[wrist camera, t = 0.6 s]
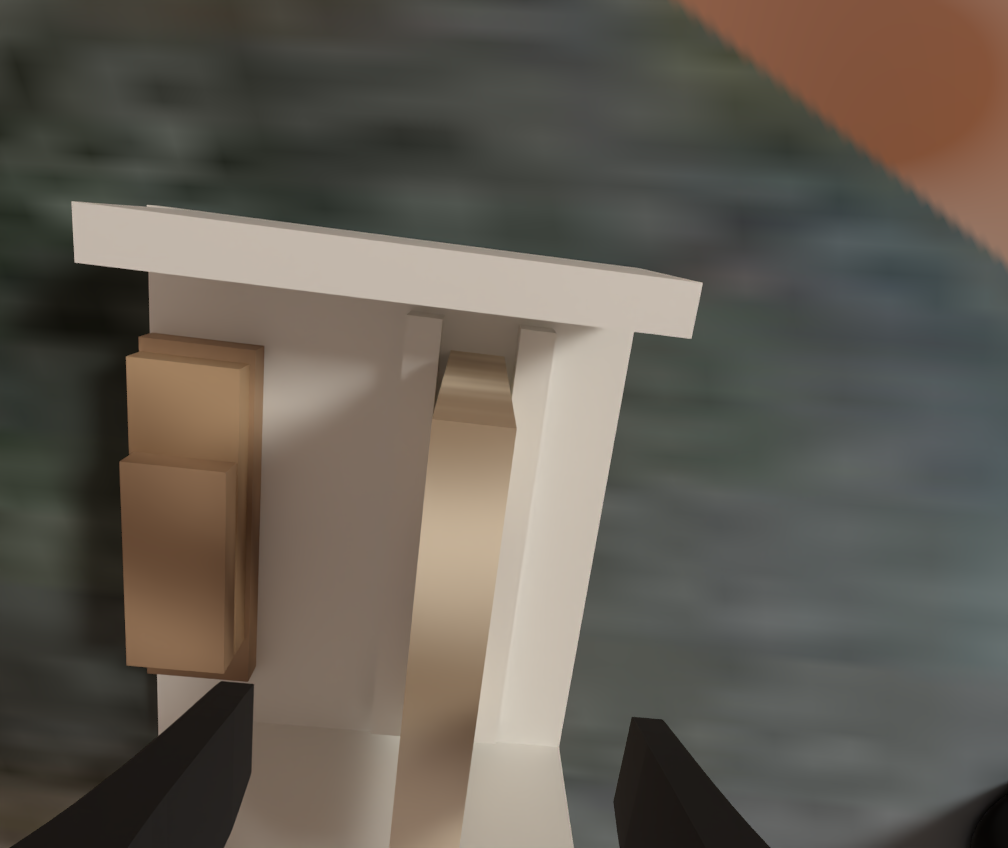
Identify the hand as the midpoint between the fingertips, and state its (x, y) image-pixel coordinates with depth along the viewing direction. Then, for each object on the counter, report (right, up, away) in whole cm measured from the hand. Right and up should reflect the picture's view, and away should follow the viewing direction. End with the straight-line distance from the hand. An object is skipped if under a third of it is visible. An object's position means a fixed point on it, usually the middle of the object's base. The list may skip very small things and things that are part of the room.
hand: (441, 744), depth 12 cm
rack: (-3, +3, +9) cm, 10 cm away
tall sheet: (0, +2, +9) cm, 9 cm away
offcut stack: (-8, +3, +8) cm, 12 cm away
